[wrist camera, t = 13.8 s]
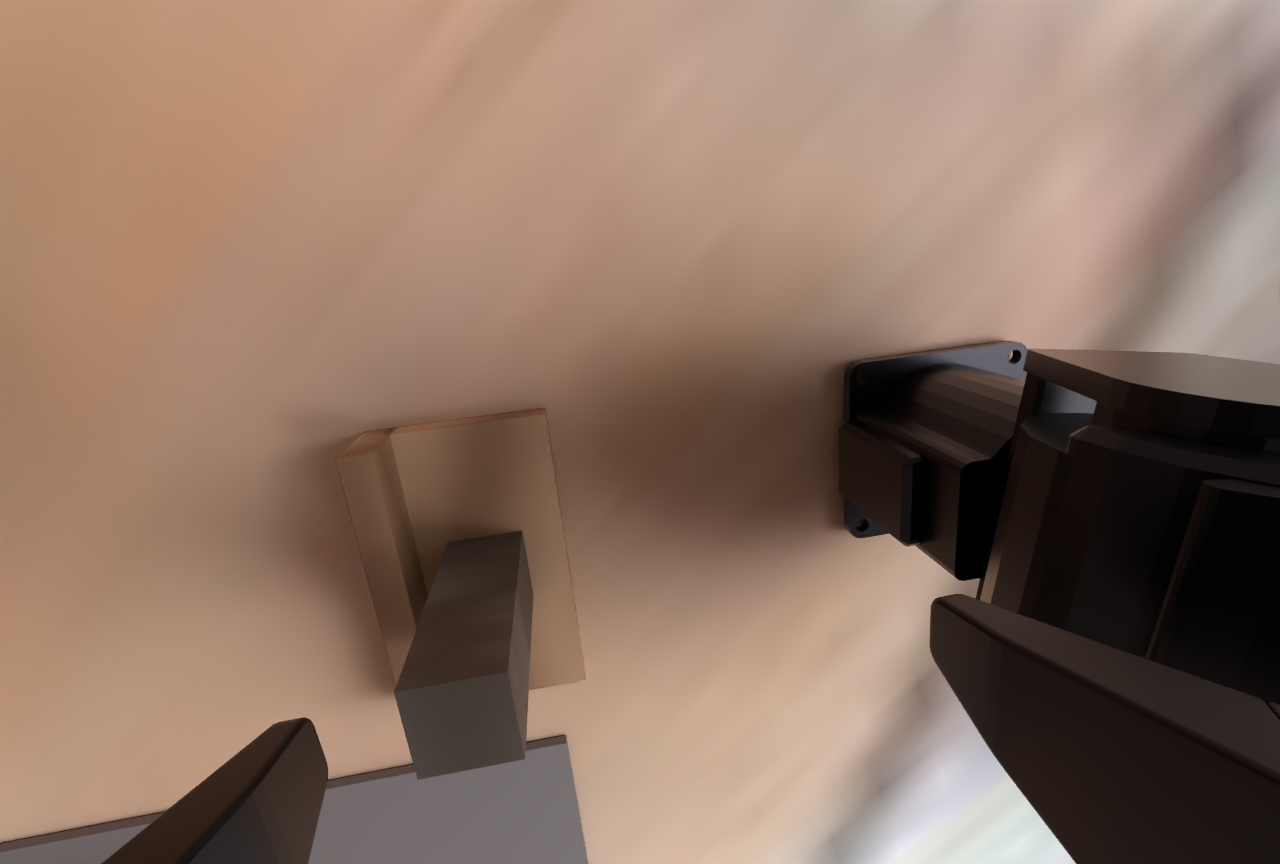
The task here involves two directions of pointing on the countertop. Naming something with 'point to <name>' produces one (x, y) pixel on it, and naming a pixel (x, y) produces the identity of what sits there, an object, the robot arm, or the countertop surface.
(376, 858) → the gray ledged slab
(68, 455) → the countertop surface
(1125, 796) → the robot arm
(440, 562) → the beige ledged slab
